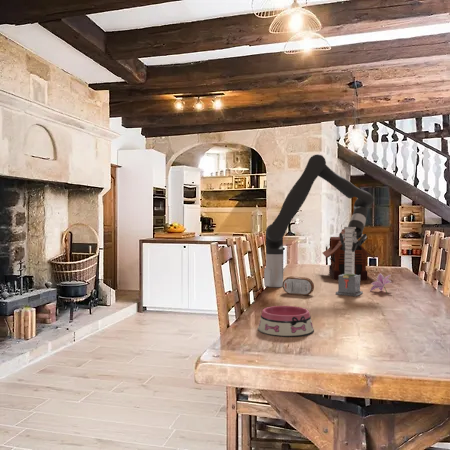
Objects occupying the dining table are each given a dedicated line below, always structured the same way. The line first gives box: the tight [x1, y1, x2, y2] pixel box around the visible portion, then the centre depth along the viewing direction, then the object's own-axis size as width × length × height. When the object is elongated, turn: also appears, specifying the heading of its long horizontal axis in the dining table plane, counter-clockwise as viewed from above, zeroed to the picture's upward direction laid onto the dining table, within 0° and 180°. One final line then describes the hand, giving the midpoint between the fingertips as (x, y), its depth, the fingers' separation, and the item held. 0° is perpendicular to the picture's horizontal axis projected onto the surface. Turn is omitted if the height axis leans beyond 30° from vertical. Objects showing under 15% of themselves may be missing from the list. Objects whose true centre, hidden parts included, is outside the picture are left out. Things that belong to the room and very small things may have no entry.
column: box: [343, 226, 356, 276], centre depth 221 cm, size 4×4×25 cm
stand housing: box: [335, 274, 364, 297], centre depth 221 cm, size 10×10×9 cm
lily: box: [369, 272, 392, 294], centre depth 227 cm, size 12×12×10 cm
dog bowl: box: [257, 305, 315, 338], centre depth 153 cm, size 18×19×7 cm
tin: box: [282, 276, 315, 296], centre depth 219 cm, size 15×3×8 cm, turn 65°
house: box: [322, 228, 376, 281], centre depth 281 cm, size 35×28×29 cm
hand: (348, 250), depth 219 cm, fingers closed on column, 3 cm apart
